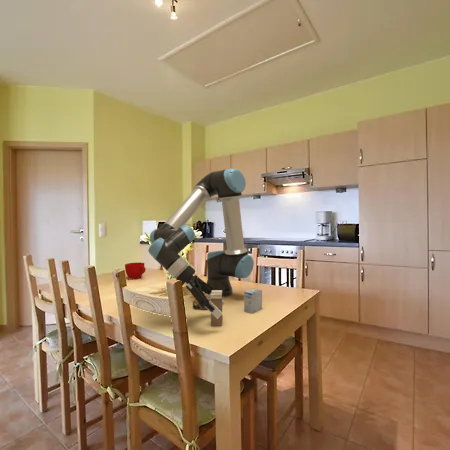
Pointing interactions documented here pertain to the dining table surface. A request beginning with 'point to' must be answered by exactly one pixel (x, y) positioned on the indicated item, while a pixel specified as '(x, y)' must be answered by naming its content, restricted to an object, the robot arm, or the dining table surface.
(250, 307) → the medicine box
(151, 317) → the dining table surface
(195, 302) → the bread roll
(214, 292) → the walnut block
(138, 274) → the ceramic cup
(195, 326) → the dining table surface
